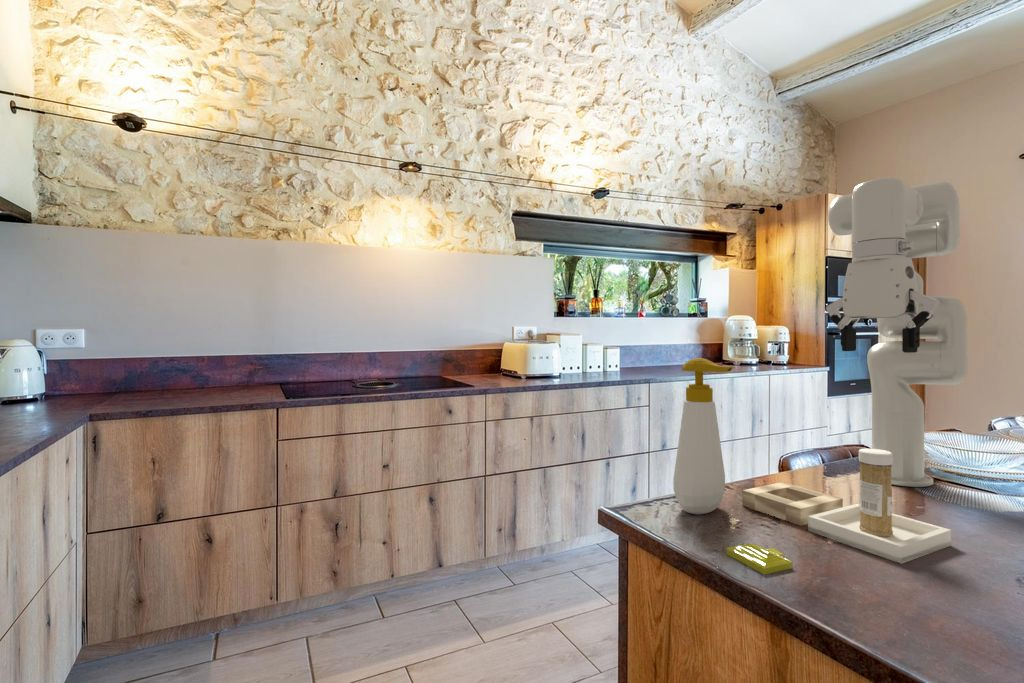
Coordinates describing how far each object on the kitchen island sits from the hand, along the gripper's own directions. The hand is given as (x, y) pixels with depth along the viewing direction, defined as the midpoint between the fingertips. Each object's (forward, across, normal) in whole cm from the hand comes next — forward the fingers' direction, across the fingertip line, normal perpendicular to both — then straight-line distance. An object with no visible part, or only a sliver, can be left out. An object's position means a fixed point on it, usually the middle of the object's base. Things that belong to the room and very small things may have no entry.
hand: (878, 351), depth 88 cm
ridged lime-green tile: (+31, 0, +30) cm, 43 cm away
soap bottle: (+31, +19, +21) cm, 42 cm away
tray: (+30, -3, +6) cm, 31 cm away
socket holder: (+30, +12, +6) cm, 33 cm away
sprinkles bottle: (+30, -3, +6) cm, 30 cm away
